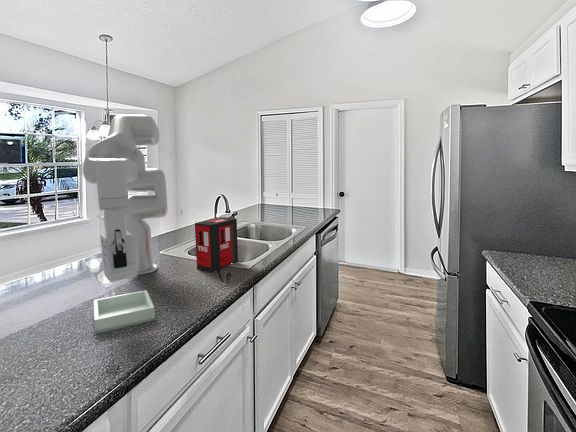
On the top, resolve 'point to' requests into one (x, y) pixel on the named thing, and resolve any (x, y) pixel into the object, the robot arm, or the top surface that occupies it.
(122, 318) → the tray
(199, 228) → the cleaning product box
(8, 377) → the top surface
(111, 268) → the supplement box
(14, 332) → the top surface
